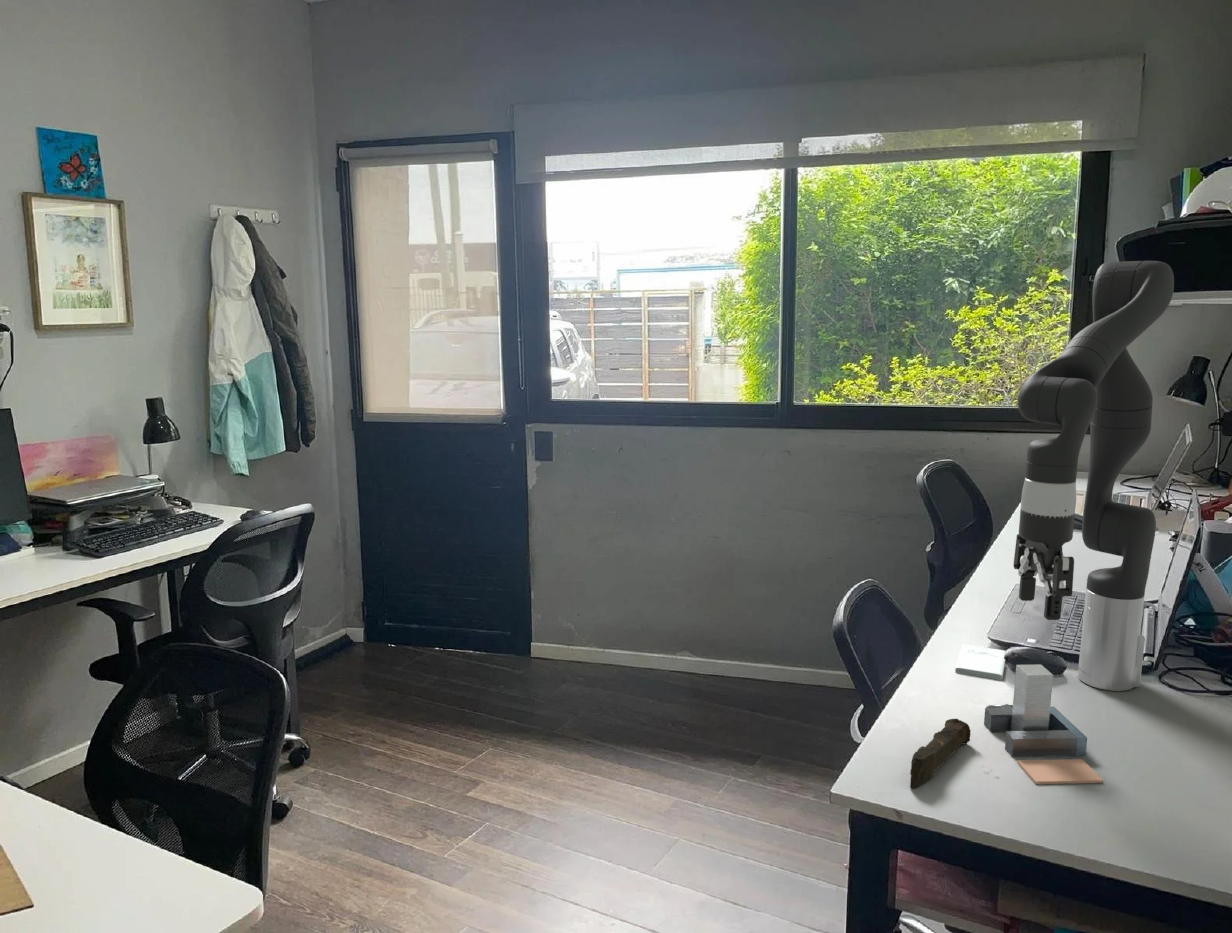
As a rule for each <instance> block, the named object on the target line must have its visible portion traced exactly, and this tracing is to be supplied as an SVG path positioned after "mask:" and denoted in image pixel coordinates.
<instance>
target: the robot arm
mask: <svg viewBox="0 0 1232 933" xmlns="http://www.w3.org/2000/svg"><path fill="white" fill-rule="evenodd" d="M1174 276H1175V275H1174V272H1173V269H1172V267H1171V266H1170V264H1168V263H1166V262H1164V261H1160V260H1159V261H1158V260H1131V261H1130V260H1129V261H1128V260H1127V261H1126V260H1124V261H1107V262H1104V263H1102V264H1101V265H1099V267H1098V268H1097V270H1096V273H1095V276H1094V279H1093V284H1092V297H1091V298H1092V323H1091V324H1089V325H1087V326H1085V327H1084V328H1083V329H1082V330H1079V332H1078V333H1076V334H1075V335H1074V337H1072V339H1070V340H1069V342H1068V344H1067V345H1066V347H1064V349H1063V350H1062V351H1061V353H1060V355H1059V356H1057V357H1056V358H1054V359H1053V360H1051V361H1050V362H1048V363H1047V364H1045V365H1044V366H1042V367H1041V368H1039V369H1038V370H1036V371H1035V372H1033V374H1030V376H1029V377H1028V378H1027V379H1026V380H1025V381H1024V383H1023V384H1022V387H1021V388H1020V389H1019V392H1018V395H1017V396H1018V397H1017V408H1018V411H1019V413H1020V414H1021V416H1022V417H1023V418H1024V419H1025V420H1027V421H1029V422H1032V423H1033V422H1034V423H1038V424H1047V425H1048V424H1049V425H1056V426H1057V425H1058V426H1062V430H1061V432H1060V433H1059V434H1058V436H1056V437H1050V438H1048V437H1047V438H1040V439H1035V440H1032V441H1031V442H1030V443H1029V445H1028V446H1027V450H1026V451H1027V452H1026V462H1025V474H1024V480H1023V481H1024V482H1023V486H1022V489H1021V490H1022V491H1021V497H1020V498H1021V499H1020V511H1019V512H1020V513H1019V523H1018V533H1017V535H1016V539H1015V546H1014V547H1015V549H1014V557H1013V569H1014V570H1017V574H1018V577H1020V579H1019V590H1018V592H1019V593H1018V599H1020V600H1021V601H1024V602H1025V601H1026V602H1028V601H1029V602H1031V601H1033V600H1034V599H1035V596H1036V587H1037V586H1036V584H1037V578H1036V576H1037V574H1038V579H1039V582H1040V583H1043V585H1044V590H1045V599H1044V600H1045V601H1044V610H1043V618H1045V619H1046V620H1048V621H1058V620H1060V619H1061V615H1062V607H1063V606H1062V605H1063V604H1062V603H1063V597H1072V596H1073V586H1074V571H1075V558H1074V557H1073V556H1064V553H1063V546H1064V545H1065V544H1067V543H1069V542H1071V541H1072V540H1073V537H1074V527H1075V526H1074V525H1075V515H1076V504H1077V474H1078V463H1079V456H1080V452H1081V449H1082V446H1083V442H1084V439H1085V436H1086V433H1087V431H1088V429H1090V430H1089V431H1090V433H1089V434H1090V435H1089V436H1090V437H1089V438H1090V439H1089V440H1090V441H1089V460H1088V461H1089V466H1088V476H1087V484H1086V490H1085V499H1084V506H1083V514H1082V520H1081V522H1082V523H1081V538H1082V540H1083V544H1084V546H1085V547H1086V548H1087V549H1089V550H1092V551H1096V552H1098V553H1105V554H1109V555H1113V556H1119V557H1122V562H1121V565H1119V566H1116V567H1115V566H1114V567H1107V568H1099V569H1094V570H1092V571H1090V572H1089V573H1088V575H1087V580H1086V588H1085V596H1084V597H1085V598H1084V607H1083V608H1084V609H1083V616H1082V617H1083V619H1082V629H1081V638H1080V639H1081V640H1080V648H1079V649H1080V650H1079V657H1078V658H1079V659H1078V666H1077V667H1078V668H1077V670H1078V671H1077V678H1078V679H1079V680H1080V681H1082V682H1083V683H1084V684H1086V685H1088V686H1091V687H1094V688H1096V689H1100V690H1103V691H1104V690H1105V691H1112V692H1124V691H1129V690H1132V689H1134V688H1140V686H1141V678H1142V677H1141V676H1142V667H1143V659H1144V652H1145V642H1146V638H1145V636H1144V635H1142V633H1141V632H1142V631H1141V630H1142V621H1143V612H1144V602H1145V593H1146V587H1147V583H1148V579H1149V573H1150V566H1151V559H1152V554H1153V548H1154V542H1155V538H1156V537H1155V536H1156V530H1157V528H1156V527H1157V522H1156V516H1155V514H1154V512H1153V510H1151V509H1150V508H1148V507H1145V506H1139V505H1132V504H1127V503H1120V502H1115V501H1113V491H1114V488H1115V487H1114V486H1115V483H1116V481H1117V478H1118V476H1119V475H1120V473H1121V472H1122V470H1123V469H1124V468H1125V467H1126V465H1127V464H1128V463H1129V462H1130V461H1131V460H1132V458H1133V457H1134V456H1135V455H1136V454H1137V453H1138V451H1140V449H1141V448H1142V446H1144V444H1145V443H1146V442H1147V439H1148V438H1149V436H1150V434H1151V429H1152V415H1153V404H1154V403H1153V393H1152V392H1153V391H1152V389H1151V387H1150V385H1149V383H1148V381H1147V380H1146V377H1144V375H1143V373H1142V372H1141V370H1140V368H1139V367H1138V366H1137V364H1136V363H1135V361H1134V360H1133V358H1132V356H1131V354H1130V353H1129V350H1128V349H1127V347H1128V346H1130V345H1131V344H1132V343H1133V342H1134V341H1135V340H1136V339H1137V338H1138V337H1140V336H1141V335H1142V334H1143V333H1144V332H1145V331H1146V330H1147V329H1148V328H1149V327H1150V326H1152V325H1153V324H1154V323H1155V322H1156V321H1157V320H1159V318H1160V317H1161V316H1163V314H1164V313H1165V311H1166V310H1167V309H1168V307H1169V305H1170V303H1171V301H1172V299H1173V295H1174V290H1175V277H1174ZM1089 426H1090V428H1089ZM1021 557H1022V558H1021ZM1051 583H1052V584H1051Z"/></svg>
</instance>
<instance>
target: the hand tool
mask: <svg viewBox="0 0 1232 933" xmlns="http://www.w3.org/2000/svg"><path fill="white" fill-rule="evenodd" d="M970 727H971V726H970V725H969V724H968V723H967V722H965V721H963V720H960V719H959V718H950V719H946V720H945V723H944V727H943V728H942V729H941V730H940V731H937V732H935V733H934V734H933V736H932V737H933V738H932V739H931V741H929V742H928V744H926V745H925V746H920V747H919V748H918V749H917V751H915V752H914V754H913V755H912V758H911V766H910V767H911V768H910V772H909V773H910V782H909V783H910V784H909V788H910V789H916V788H918V787H920V786H923V785H924V784H926V783H927V782H929V781H931V780H933V777H934V774H935V772H936V771H937V770H938V768H939V767H940V766H942V765H943V764H944V763H945V762H946V761H947V760H948V758H950V757H951V756H952V755H953V754H954V753H955V752H956V751H958V748H959V747H960V746H961V745H962V744H963V745H967V744H968V743H969V742H970V741H971V739H970V738H971V728H970Z"/></svg>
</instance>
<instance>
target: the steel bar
mask: <svg viewBox="0 0 1232 933" xmlns="http://www.w3.org/2000/svg"><path fill="white" fill-rule="evenodd" d="M1014 677H1015V678H1014V688H1013V697H1012V698H1013V700H1012V705H1013V710H1012V722H1011V731H1048V726H1049V715H1050V707H1051V706H1052V705H1051V702H1052V691H1053V683H1054V682H1053V681H1054V674H1053V673H1051V672H1050V670H1048V669H1047V668H1045V666H1043V664H1016V665H1015V676H1014Z"/></svg>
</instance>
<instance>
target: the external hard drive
mask: <svg viewBox="0 0 1232 933" xmlns="http://www.w3.org/2000/svg"><path fill="white" fill-rule="evenodd" d="M1005 652H1006V653H1007V651H1006V650H1002V649H997V648H989V647H985V646H984V647H983V646H979V645H978V646H977V645H971V644H962V645H961V648H960V652H959V654H958V658H957V662H956V664H955V667H954V668H955V669H954V671H955V672H954V673H959V674H965V675H970V676H977V677H981V678H989V679H993V680H994V679H995V680H998V681H999V680H1001V681H1002V680H1003V676H1004V670H1005V665H1006V659H1004V655H1005Z"/></svg>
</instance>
